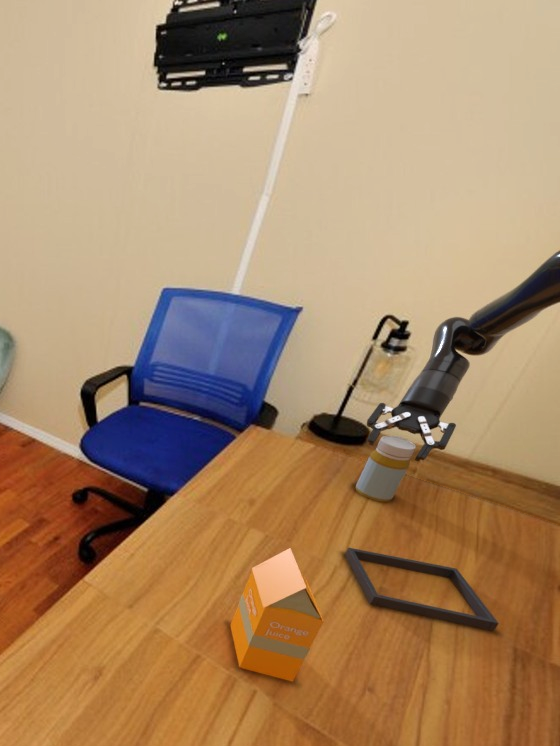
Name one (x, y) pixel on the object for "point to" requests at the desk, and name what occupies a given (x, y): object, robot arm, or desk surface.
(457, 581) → the dark rectangular frame
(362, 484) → the bottle
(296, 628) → the orange juice
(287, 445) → the desk surface
